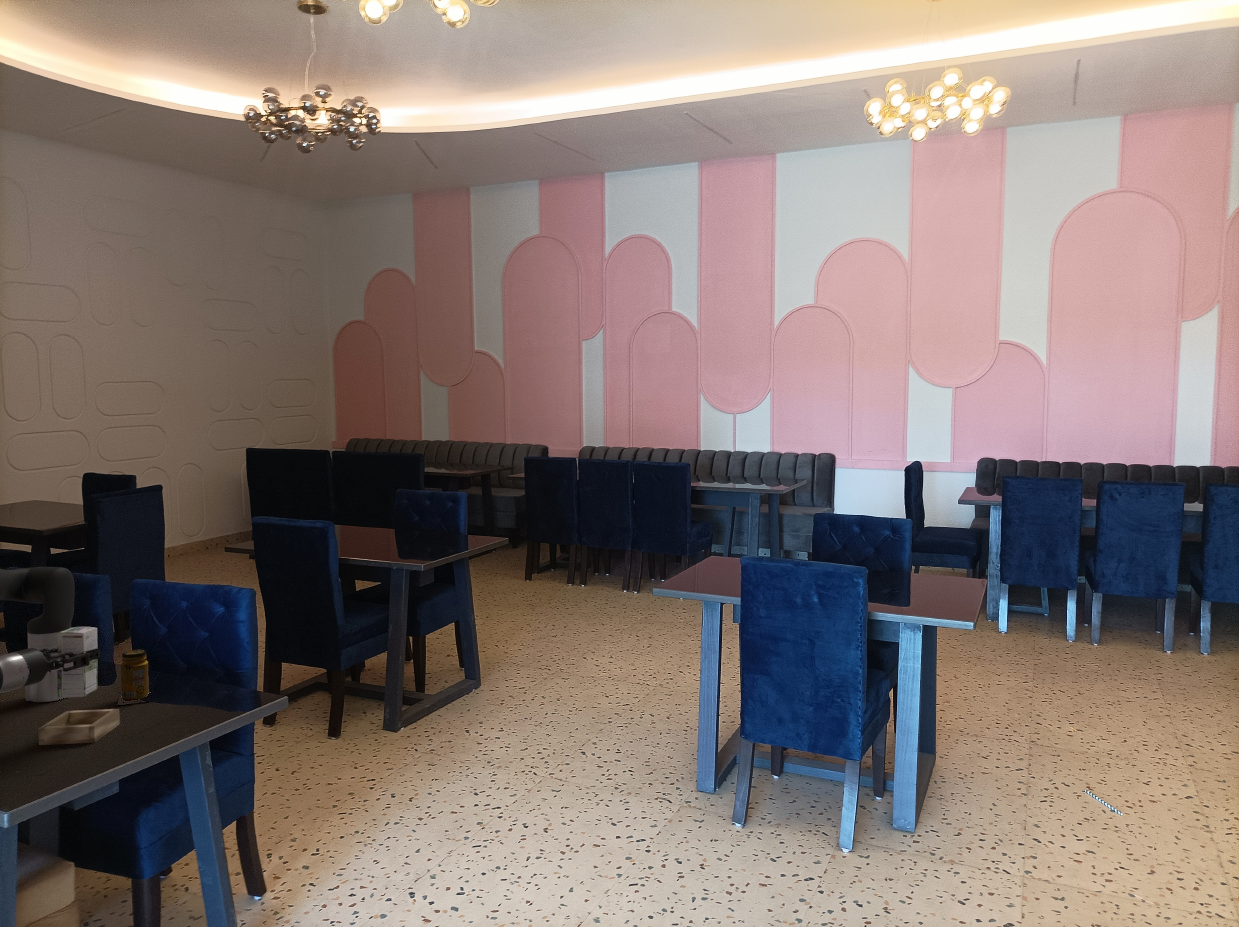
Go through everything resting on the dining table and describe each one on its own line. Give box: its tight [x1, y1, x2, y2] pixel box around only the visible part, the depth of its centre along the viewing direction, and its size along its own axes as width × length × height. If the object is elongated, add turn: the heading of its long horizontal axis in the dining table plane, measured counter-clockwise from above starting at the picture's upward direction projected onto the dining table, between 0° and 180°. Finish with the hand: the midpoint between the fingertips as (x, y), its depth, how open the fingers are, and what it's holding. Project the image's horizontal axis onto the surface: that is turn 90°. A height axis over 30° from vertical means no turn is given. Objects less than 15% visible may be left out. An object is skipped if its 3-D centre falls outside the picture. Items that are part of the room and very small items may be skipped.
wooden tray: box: [37, 708, 121, 746], centre depth 189 cm, size 11×11×4 cm
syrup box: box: [57, 626, 99, 699], centre depth 188 cm, size 6×6×14 cm
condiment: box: [120, 649, 150, 701], centre depth 212 cm, size 7×8×12 cm
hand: (86, 651), depth 190 cm, fingers closed on syrup box, 7 cm apart
